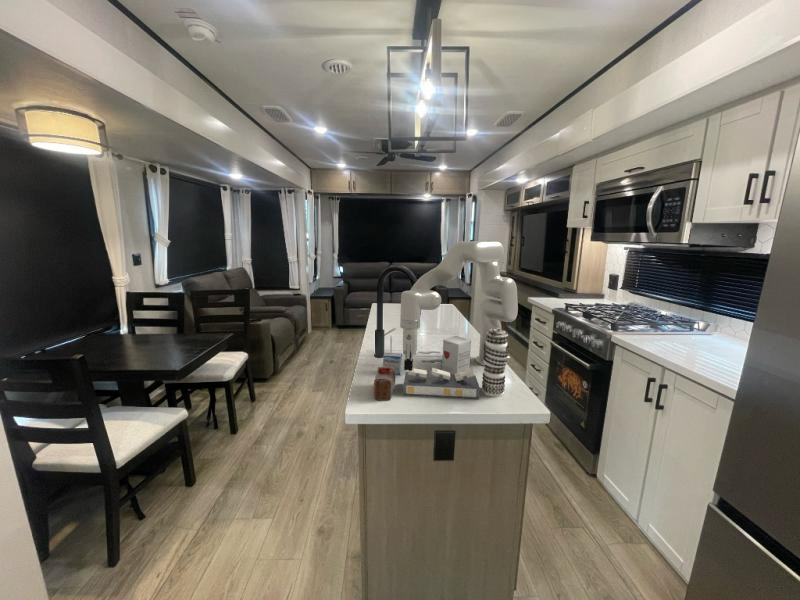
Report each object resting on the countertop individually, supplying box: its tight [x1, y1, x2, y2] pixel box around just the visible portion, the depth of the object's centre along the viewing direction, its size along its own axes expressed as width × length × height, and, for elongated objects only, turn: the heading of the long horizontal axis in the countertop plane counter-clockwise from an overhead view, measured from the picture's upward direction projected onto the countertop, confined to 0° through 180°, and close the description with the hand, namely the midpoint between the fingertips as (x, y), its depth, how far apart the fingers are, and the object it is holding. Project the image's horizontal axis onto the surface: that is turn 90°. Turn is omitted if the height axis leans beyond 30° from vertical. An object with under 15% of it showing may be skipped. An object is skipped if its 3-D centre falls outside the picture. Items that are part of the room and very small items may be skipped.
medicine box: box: [382, 352, 403, 376], centre depth 140 cm, size 8×4×9 cm, turn 82°
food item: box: [373, 365, 397, 401], centre depth 122 cm, size 14×8×10 cm, turn 179°
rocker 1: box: [408, 368, 428, 378], centre depth 124 cm, size 7×4×2 cm, turn 85°
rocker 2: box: [431, 367, 450, 380], centre depth 123 cm, size 7×4×2 cm, turn 85°
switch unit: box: [403, 371, 480, 400], centre depth 124 cm, size 28×10×8 cm, turn 85°
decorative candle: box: [481, 328, 510, 398], centre depth 123 cm, size 9×9×25 cm
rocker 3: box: [455, 368, 475, 381], centre depth 123 cm, size 7×4×2 cm, turn 85°
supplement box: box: [441, 335, 472, 374], centre depth 142 cm, size 9×9×15 cm
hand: (408, 369), depth 124 cm, fingers closed
